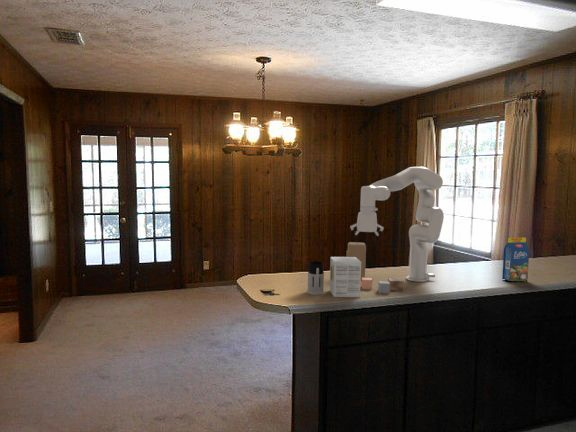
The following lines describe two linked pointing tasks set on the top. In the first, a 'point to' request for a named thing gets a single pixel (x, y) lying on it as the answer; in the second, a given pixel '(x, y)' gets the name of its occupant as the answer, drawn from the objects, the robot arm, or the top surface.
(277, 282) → the top surface
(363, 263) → the block
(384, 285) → the slate grey cube
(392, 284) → the walnut base block
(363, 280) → the terracotta cube
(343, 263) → the supplement box
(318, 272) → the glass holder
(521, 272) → the blue food package
